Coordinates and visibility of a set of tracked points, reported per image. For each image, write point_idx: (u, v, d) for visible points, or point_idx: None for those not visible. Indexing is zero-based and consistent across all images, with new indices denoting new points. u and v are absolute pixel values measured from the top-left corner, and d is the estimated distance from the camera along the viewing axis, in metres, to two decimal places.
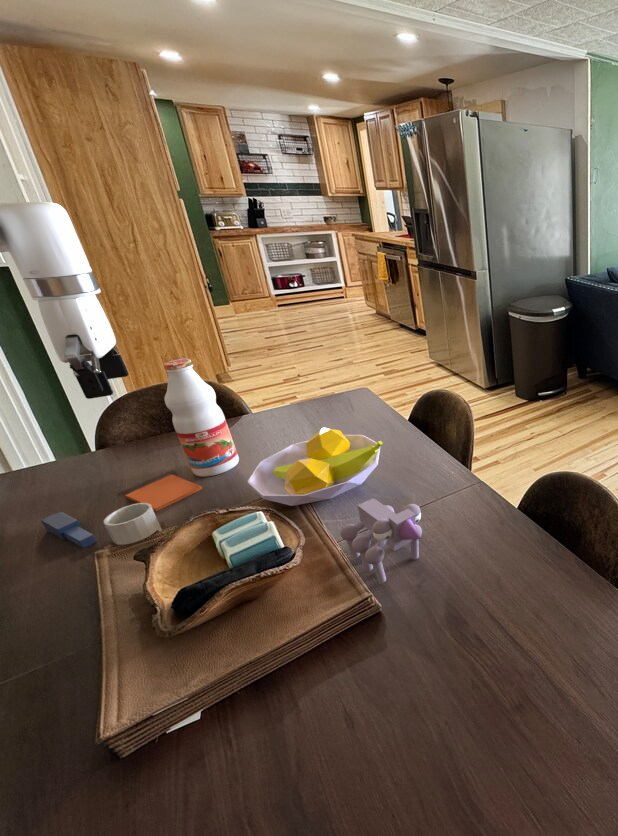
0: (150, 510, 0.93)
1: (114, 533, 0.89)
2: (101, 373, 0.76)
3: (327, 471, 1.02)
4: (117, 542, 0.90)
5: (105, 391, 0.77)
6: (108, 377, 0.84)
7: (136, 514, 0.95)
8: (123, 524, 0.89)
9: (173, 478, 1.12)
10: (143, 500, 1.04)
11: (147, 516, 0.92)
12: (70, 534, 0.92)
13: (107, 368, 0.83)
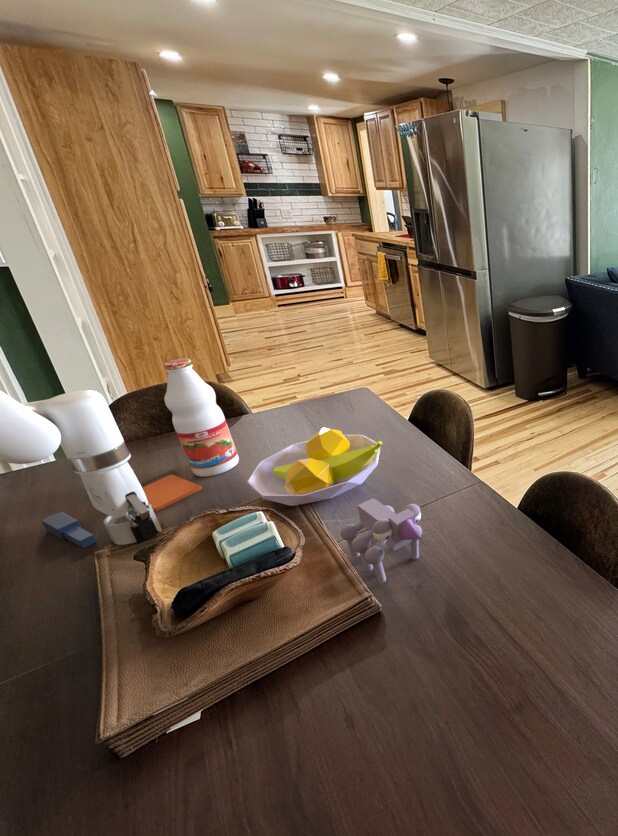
0: (150, 510, 0.93)
1: (114, 533, 0.89)
2: None
3: (327, 471, 1.02)
4: (117, 542, 0.90)
5: None
6: None
7: (136, 514, 0.95)
8: (123, 524, 0.89)
9: (173, 478, 1.12)
10: None
11: None
12: (70, 534, 0.92)
13: None
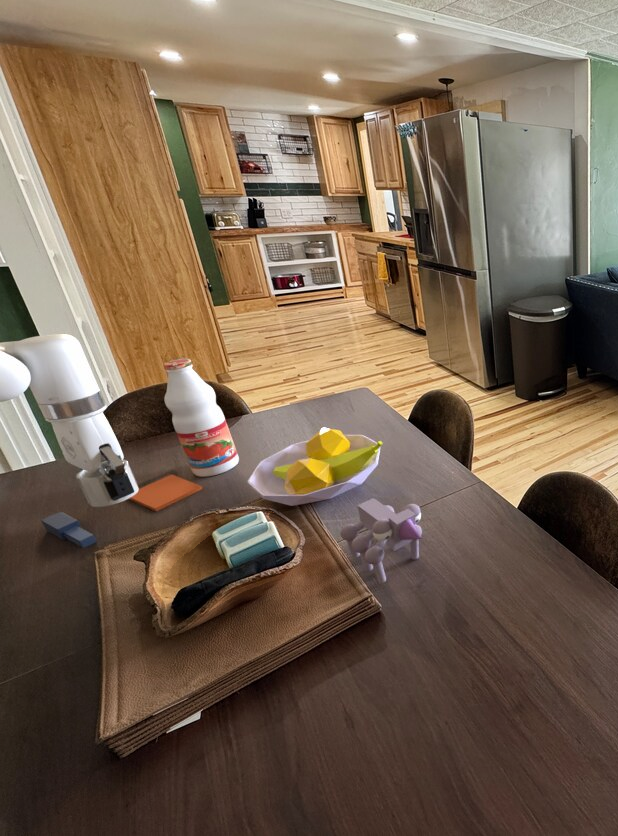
0: (126, 466, 0.89)
1: (86, 488, 0.85)
2: None
3: (327, 471, 1.02)
4: (90, 498, 0.86)
5: (128, 490, 0.88)
6: None
7: None
8: (96, 478, 0.85)
9: (173, 478, 1.12)
10: (143, 500, 1.04)
11: None
12: (70, 534, 0.92)
13: None
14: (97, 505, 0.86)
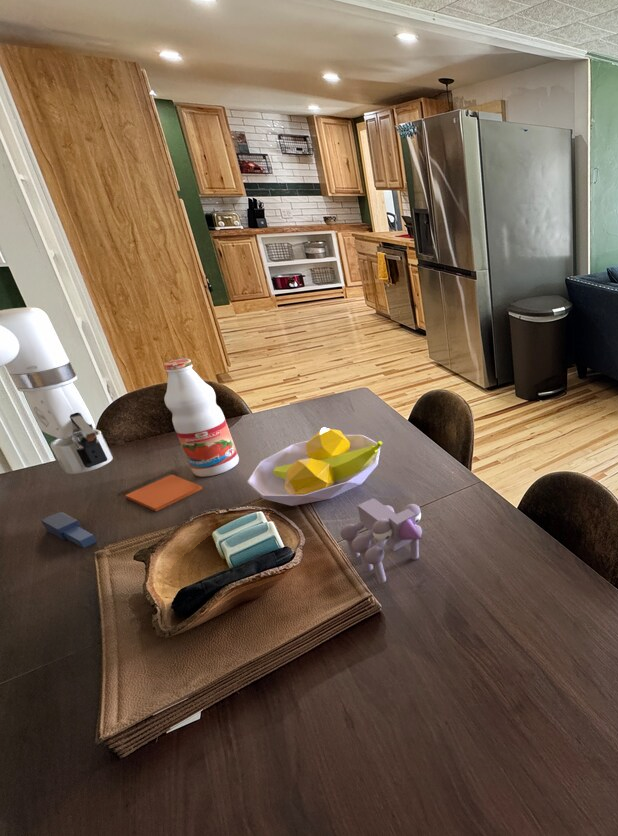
0: (99, 435, 0.93)
1: (60, 456, 0.89)
2: (98, 443, 0.91)
3: (327, 471, 1.02)
4: (64, 465, 0.90)
5: (101, 458, 0.92)
6: None
7: None
8: (69, 446, 0.89)
9: (173, 478, 1.12)
10: (143, 500, 1.04)
11: None
12: (70, 534, 0.92)
13: None
14: (71, 472, 0.90)
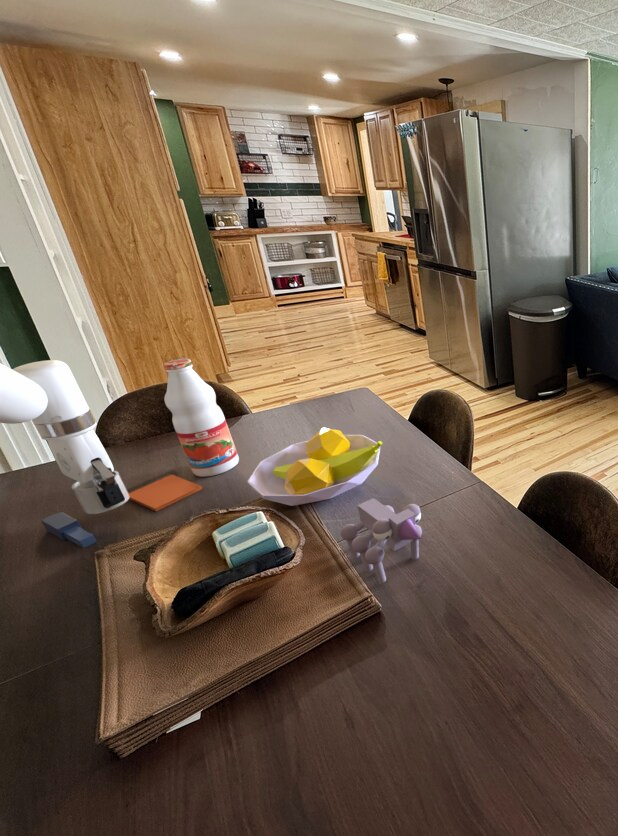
0: (117, 477, 0.98)
1: (81, 498, 0.94)
2: (116, 485, 0.96)
3: (327, 471, 1.02)
4: (85, 506, 0.95)
5: (119, 498, 0.97)
6: None
7: None
8: (90, 488, 0.94)
9: (173, 478, 1.12)
10: (143, 500, 1.04)
11: None
12: (70, 534, 0.92)
13: None
14: (92, 512, 0.95)
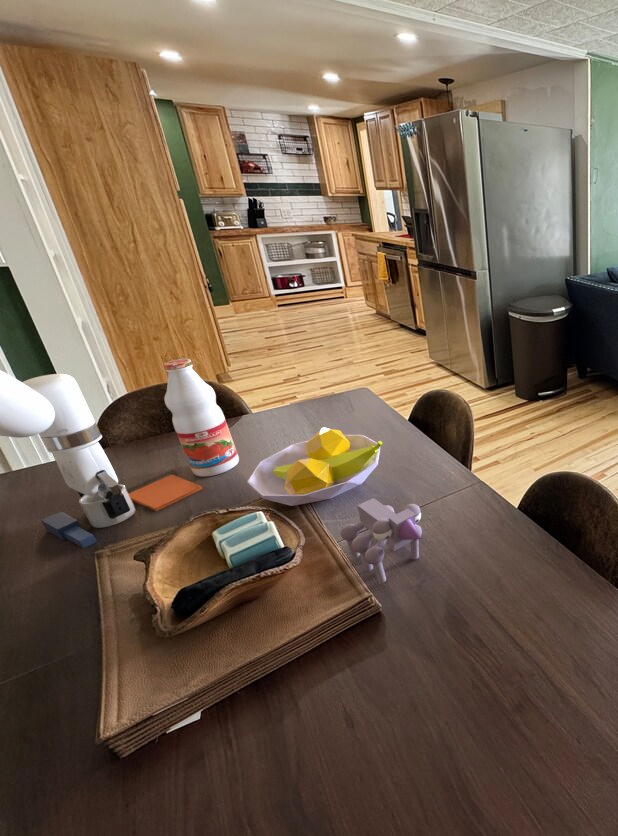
0: (123, 490, 0.99)
1: (88, 512, 0.95)
2: (122, 495, 0.97)
3: (327, 471, 1.02)
4: (92, 520, 0.96)
5: (125, 509, 0.97)
6: None
7: None
8: (97, 502, 0.95)
9: (173, 478, 1.12)
10: (143, 500, 1.04)
11: None
12: (70, 534, 0.92)
13: None
14: (98, 526, 0.97)
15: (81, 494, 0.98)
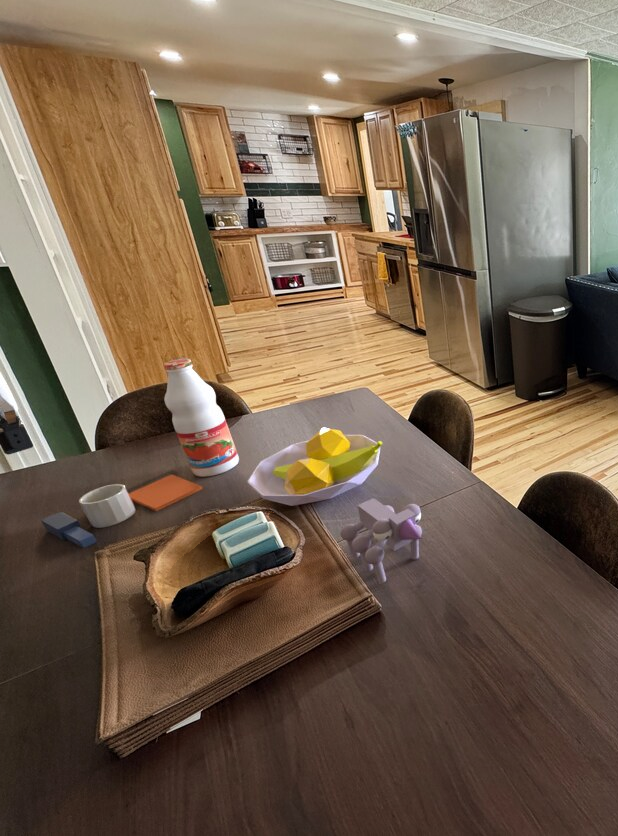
0: (123, 490, 0.99)
1: (88, 512, 0.95)
2: (22, 427, 0.79)
3: (327, 471, 1.02)
4: (92, 520, 0.96)
5: (26, 444, 0.80)
6: None
7: (111, 495, 1.01)
8: (97, 502, 0.95)
9: (173, 478, 1.12)
10: (143, 500, 1.04)
11: (120, 496, 0.98)
12: (70, 534, 0.92)
13: None
14: (98, 526, 0.97)
15: None
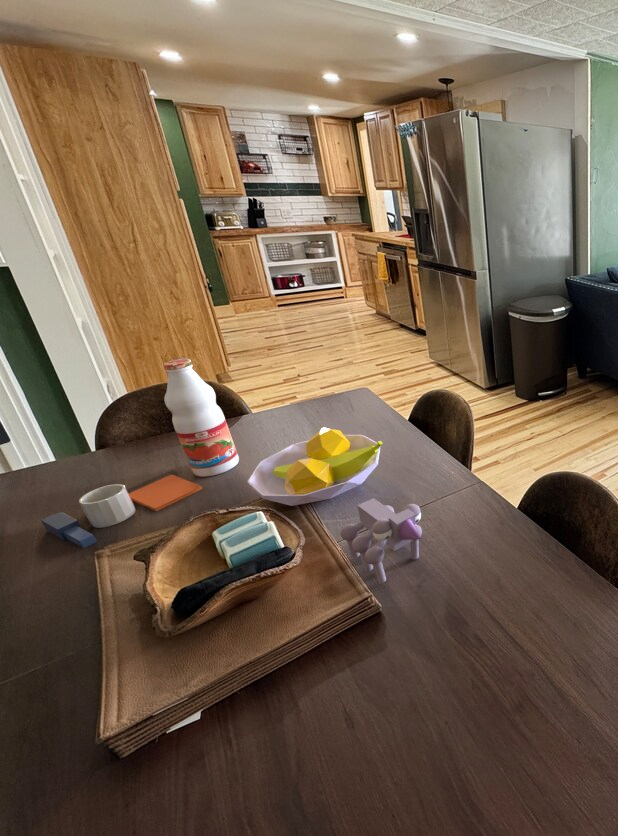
0: (123, 490, 0.99)
1: (88, 512, 0.95)
2: None
3: (327, 471, 1.02)
4: (92, 520, 0.96)
5: (2, 439, 0.76)
6: None
7: (111, 495, 1.01)
8: (97, 502, 0.95)
9: (173, 478, 1.12)
10: (143, 500, 1.04)
11: (120, 496, 0.98)
12: (70, 534, 0.92)
13: None
14: (98, 526, 0.97)
15: None
